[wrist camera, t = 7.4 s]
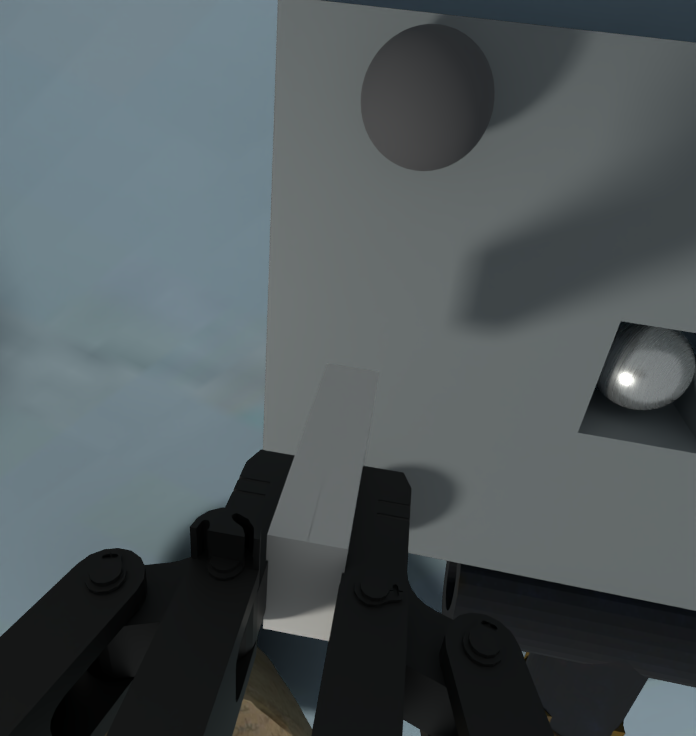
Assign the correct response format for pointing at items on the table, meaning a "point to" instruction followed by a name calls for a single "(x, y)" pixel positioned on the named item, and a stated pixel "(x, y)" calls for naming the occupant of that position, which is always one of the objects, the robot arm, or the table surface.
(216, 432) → the table surface
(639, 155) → the slate board
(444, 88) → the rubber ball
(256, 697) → the bowl
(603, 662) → the pipe connector
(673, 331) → the steel ball
